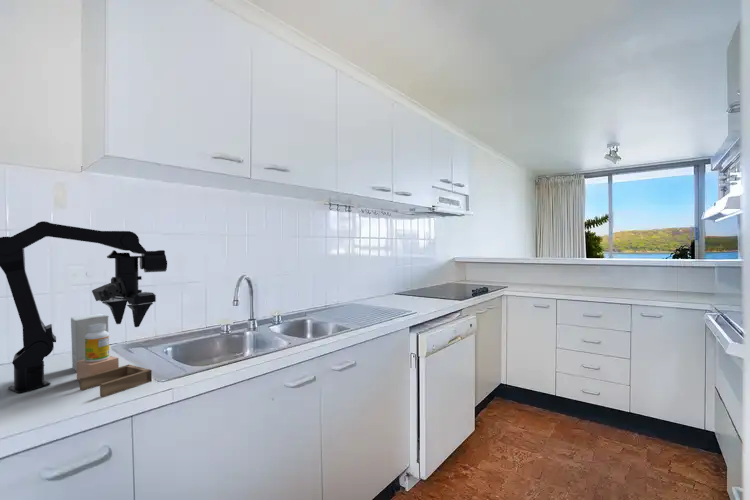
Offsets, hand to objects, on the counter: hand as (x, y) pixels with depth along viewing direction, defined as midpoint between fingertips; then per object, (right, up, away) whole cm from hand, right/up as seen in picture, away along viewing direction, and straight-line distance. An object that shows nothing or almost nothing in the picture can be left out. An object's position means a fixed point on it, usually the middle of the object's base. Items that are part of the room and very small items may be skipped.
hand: (127, 325), depth 110 cm
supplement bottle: (-4, -8, -7) cm, 11 cm away
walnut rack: (+6, -13, -13) cm, 19 cm away
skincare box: (-13, -13, +2) cm, 18 cm away
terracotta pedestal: (-4, -13, -7) cm, 15 cm away
